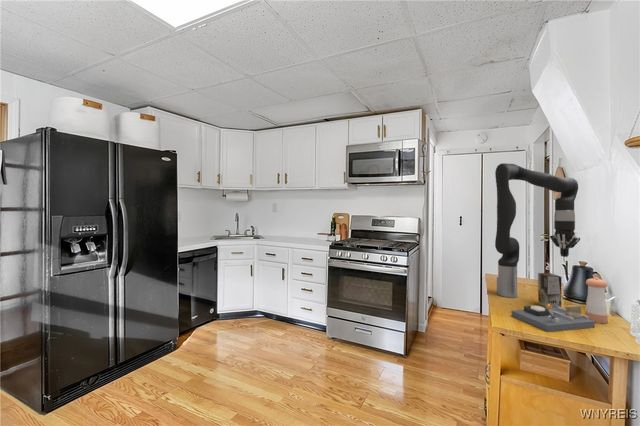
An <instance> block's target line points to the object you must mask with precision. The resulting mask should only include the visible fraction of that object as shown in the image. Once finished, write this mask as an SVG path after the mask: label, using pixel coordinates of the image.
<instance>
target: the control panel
mask: <svg viewBox="0 0 640 426" xmlns="http://www.w3.org/2000/svg"><path fill="white" fill-rule="evenodd" d="M531 306H532V305H524V306H523V309H514V310H511V317H513V318H515V319H517V320H520V321H522V322H525V323H527V324H528V325H529V324H530V325H531V326H533V327H535V328H537V329H541V330H543V331H545V332H548V333H550V332H560V331H570V330H579V329H580V330H581V329H591V328H592V329H593V328H595V325H596V324H595V323H596V322H595V321H592V320H589V317H588V316H585V314H582V313H581V318H572V317H569V316H566V308H563V307H562V306H561V307H557V308H554V307H552V308H551V309H552V311H553V314H554V316H555V318H554V319H552V318H551V315H550V313H549V310H548V309H547V308H546V307H544V308H545V311H536V310H533V309H531ZM534 306H538V305H534Z"/></svg>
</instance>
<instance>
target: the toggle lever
mask: <svg viewBox="0 0 640 426" xmlns="http://www.w3.org/2000/svg"><path fill="white" fill-rule="evenodd" d="M545 308H547V309H548V310H549V313H550V315H551V318H552V319H554V318H555V316H554V314H553V311H552V309H551V308H552V306H551V305H550V304H547V305H546V307H545Z"/></svg>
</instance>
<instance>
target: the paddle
mask: <svg viewBox="0 0 640 426" xmlns="http://www.w3.org/2000/svg"><path fill="white" fill-rule="evenodd" d="M565 309H566V316H569V317H572V318H581V314H582V306H581V305H578V304H574V305H573V304H572V305H565Z"/></svg>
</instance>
